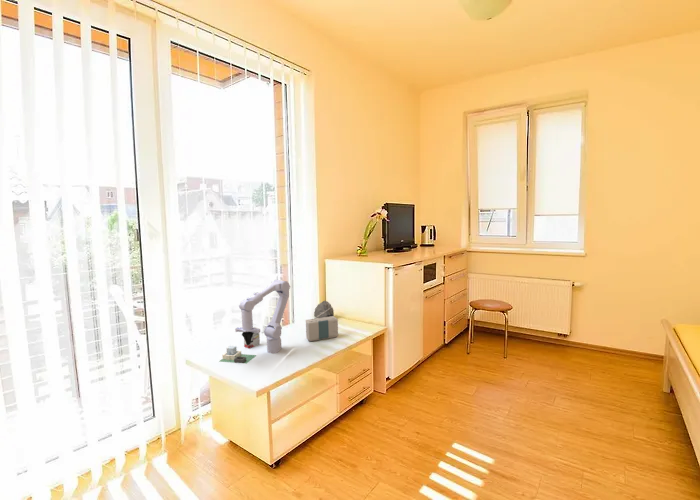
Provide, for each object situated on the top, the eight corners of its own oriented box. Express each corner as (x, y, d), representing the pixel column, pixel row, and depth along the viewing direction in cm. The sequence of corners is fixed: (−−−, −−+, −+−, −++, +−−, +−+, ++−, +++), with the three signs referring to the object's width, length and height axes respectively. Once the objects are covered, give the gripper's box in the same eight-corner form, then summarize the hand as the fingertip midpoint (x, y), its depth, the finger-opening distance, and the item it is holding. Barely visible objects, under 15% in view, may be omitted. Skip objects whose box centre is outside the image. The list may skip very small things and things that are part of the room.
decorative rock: (334, 319, 285) (334, 300, 284) (330, 321, 279) (330, 302, 278) (317, 316, 293) (317, 298, 291) (312, 318, 287) (312, 300, 285)
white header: (229, 354, 214) (229, 350, 214) (241, 354, 212) (241, 350, 212) (222, 359, 206) (221, 355, 206) (234, 360, 204) (233, 356, 204)
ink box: (248, 350, 223) (247, 331, 222) (244, 348, 226) (243, 329, 225) (260, 346, 229) (259, 328, 228) (256, 344, 232) (255, 326, 231)
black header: (234, 362, 202) (234, 359, 202) (237, 359, 205) (237, 356, 205) (243, 363, 201) (242, 359, 200) (246, 360, 204) (246, 357, 204)
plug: (230, 355, 212) (230, 345, 211) (236, 356, 211) (236, 346, 210) (226, 358, 208) (226, 348, 207) (232, 359, 207) (232, 348, 206)
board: (230, 354, 215) (230, 353, 215) (256, 356, 212) (256, 355, 212) (218, 363, 204) (218, 361, 204) (246, 365, 200) (246, 363, 200)
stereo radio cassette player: (308, 342, 234) (308, 312, 232) (305, 338, 241) (304, 309, 239) (338, 337, 242) (338, 308, 240) (334, 334, 250) (333, 305, 248)
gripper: (231, 322, 201) (233, 346, 203) (255, 323, 198) (256, 347, 199) (238, 318, 208) (239, 341, 209) (261, 320, 205) (262, 343, 206)
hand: (248, 344), depth 205 cm, fingers closed
